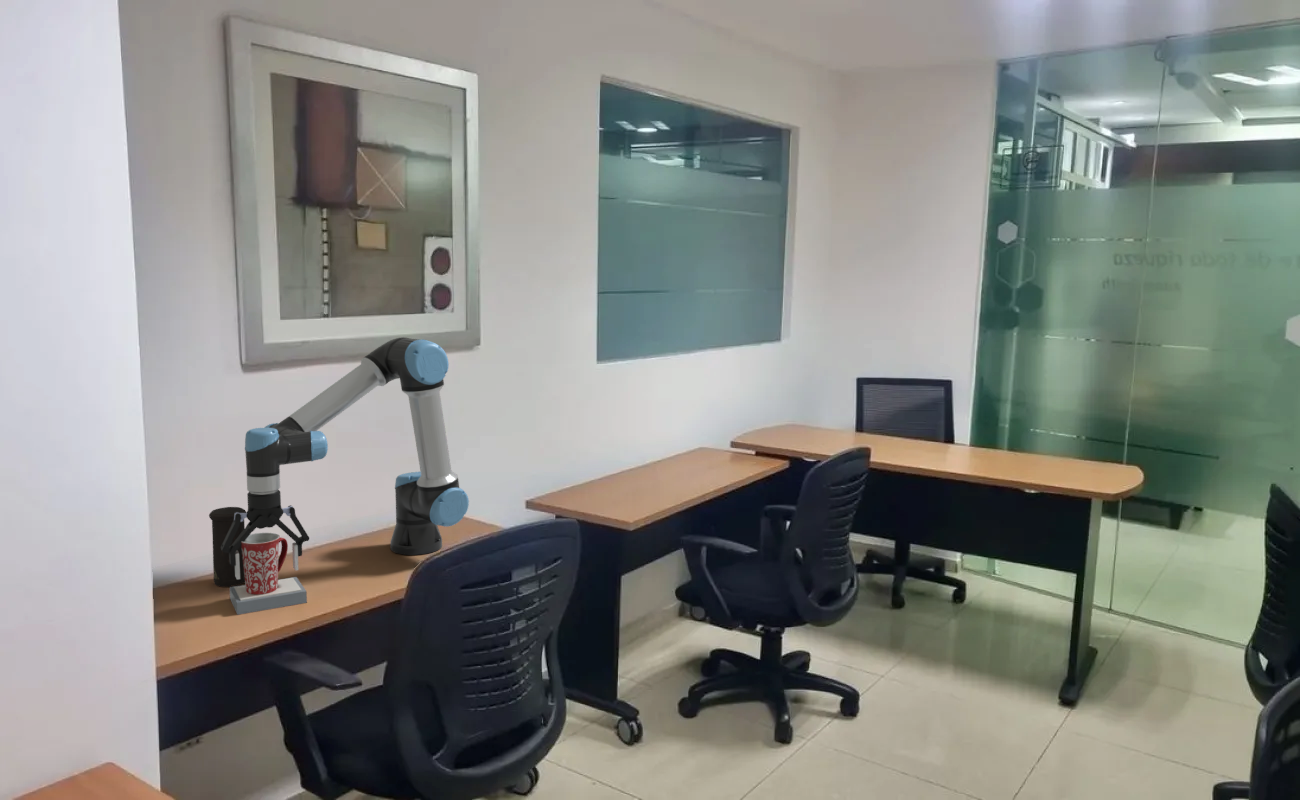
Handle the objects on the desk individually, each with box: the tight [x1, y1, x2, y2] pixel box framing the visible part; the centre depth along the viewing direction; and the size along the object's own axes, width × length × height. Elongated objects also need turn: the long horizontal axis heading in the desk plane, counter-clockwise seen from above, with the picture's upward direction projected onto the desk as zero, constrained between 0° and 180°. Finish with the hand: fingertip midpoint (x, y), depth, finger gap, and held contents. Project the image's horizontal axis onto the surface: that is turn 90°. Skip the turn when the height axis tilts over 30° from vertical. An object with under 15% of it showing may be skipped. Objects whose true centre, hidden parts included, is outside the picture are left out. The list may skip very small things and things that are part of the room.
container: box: [208, 506, 247, 588], centre depth 234 cm, size 9×9×20 cm
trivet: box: [229, 576, 308, 616], centre depth 223 cm, size 16×12×3 cm
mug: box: [241, 532, 289, 595], centre depth 222 cm, size 13×9×14 cm
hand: (267, 573), depth 222 cm, fingers open, 13 cm apart
